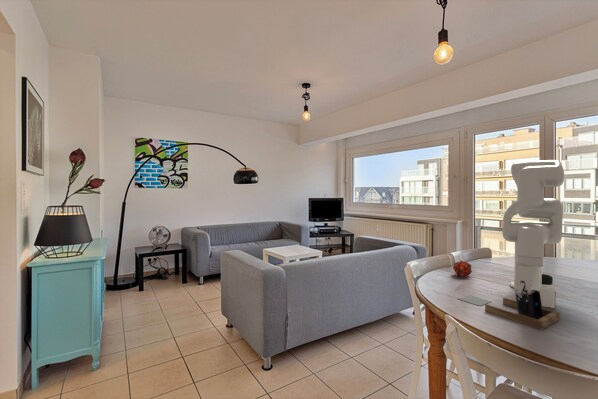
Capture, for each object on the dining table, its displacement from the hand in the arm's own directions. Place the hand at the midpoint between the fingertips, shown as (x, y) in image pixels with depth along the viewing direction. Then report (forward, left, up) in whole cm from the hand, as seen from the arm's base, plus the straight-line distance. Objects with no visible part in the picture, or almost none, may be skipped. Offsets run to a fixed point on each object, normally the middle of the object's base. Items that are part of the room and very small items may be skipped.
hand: (528, 309), depth 106 cm
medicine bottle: (-20, -3, -3) cm, 20 cm away
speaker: (0, 0, -3) cm, 3 cm away
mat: (0, -19, -3) cm, 19 cm away
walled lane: (0, -3, -3) cm, 4 cm away
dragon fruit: (-31, -42, -3) cm, 52 cm away
